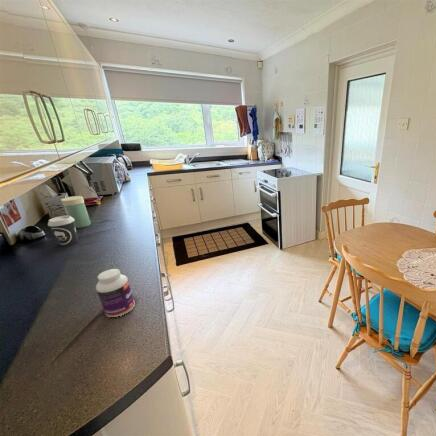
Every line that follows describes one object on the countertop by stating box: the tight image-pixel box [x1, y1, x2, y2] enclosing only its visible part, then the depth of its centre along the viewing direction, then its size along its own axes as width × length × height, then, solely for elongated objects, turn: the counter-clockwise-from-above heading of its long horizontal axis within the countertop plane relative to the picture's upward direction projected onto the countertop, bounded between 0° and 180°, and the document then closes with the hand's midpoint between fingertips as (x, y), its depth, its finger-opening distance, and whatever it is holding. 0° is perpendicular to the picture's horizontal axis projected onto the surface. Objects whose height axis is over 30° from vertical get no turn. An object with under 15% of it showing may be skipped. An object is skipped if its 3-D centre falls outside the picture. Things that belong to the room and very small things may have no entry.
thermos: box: [63, 201, 92, 229], centre depth 138 cm, size 9×9×16 cm
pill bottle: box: [95, 268, 136, 318], centre depth 74 cm, size 8×8×14 cm
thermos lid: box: [60, 195, 85, 207], centre depth 135 cm, size 9×9×3 cm
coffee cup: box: [47, 215, 79, 247], centre depth 114 cm, size 10×10×15 cm
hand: (75, 188), depth 134 cm, fingers open, 13 cm apart
